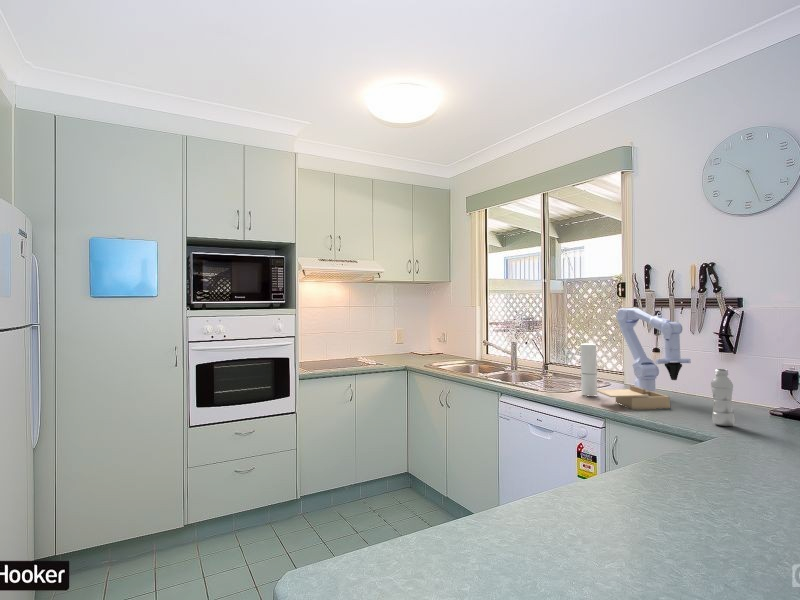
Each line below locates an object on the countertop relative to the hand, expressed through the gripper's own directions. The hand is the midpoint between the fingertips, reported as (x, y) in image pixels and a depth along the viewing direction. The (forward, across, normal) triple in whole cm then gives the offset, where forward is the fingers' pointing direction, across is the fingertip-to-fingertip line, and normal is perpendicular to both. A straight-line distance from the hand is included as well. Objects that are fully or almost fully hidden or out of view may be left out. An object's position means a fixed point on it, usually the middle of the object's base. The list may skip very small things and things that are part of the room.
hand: (673, 379), depth 201 cm
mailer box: (+10, -16, -2) cm, 19 cm away
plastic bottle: (+11, -6, -38) cm, 40 cm away
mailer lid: (+5, -25, -3) cm, 26 cm away
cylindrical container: (+10, -28, +22) cm, 37 cm away
